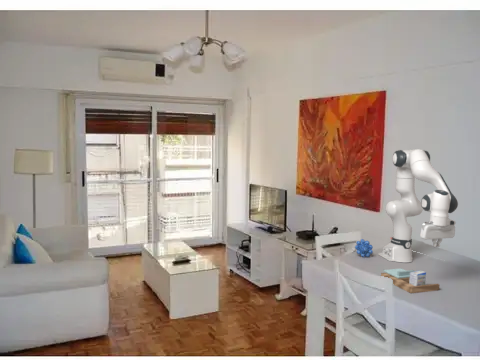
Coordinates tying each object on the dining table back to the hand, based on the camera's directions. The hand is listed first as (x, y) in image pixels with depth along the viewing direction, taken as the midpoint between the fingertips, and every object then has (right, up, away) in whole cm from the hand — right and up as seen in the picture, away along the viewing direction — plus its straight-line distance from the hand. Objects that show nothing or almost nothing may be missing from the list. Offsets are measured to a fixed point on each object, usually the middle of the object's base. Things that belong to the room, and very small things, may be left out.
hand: (436, 246), depth 235 cm
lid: (-16, -16, +9) cm, 25 cm away
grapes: (-24, -15, +52) cm, 59 cm away
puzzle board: (-14, -21, +3) cm, 25 cm away
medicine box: (-12, -22, -3) cm, 25 cm away
